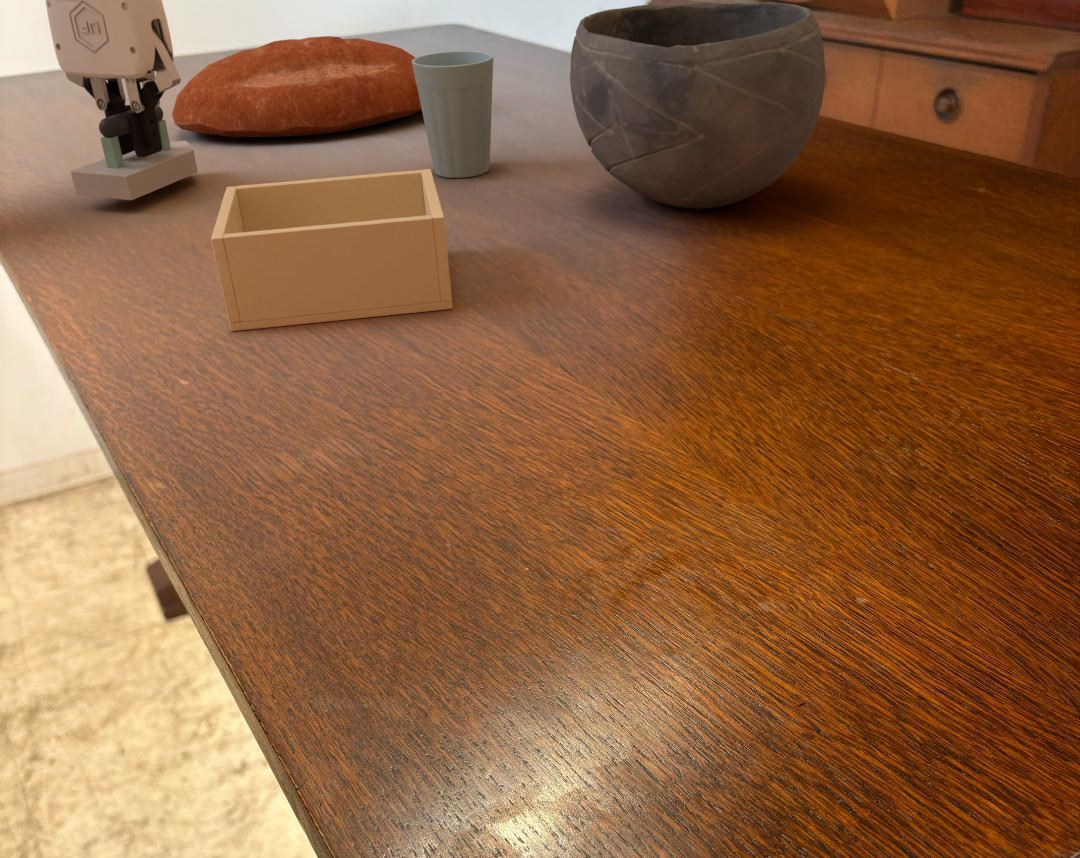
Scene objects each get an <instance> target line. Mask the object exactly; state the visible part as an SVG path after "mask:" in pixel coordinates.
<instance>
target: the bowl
mask: <svg viewBox="0 0 1080 858" xmlns="http://www.w3.org/2000/svg"><path fill="white" fill-rule="evenodd" d="M821 32H822V31H821V28H820V25H819V22H818V19H817V18H816V16H815V14H814V12H813V11H812V10H811V9H810V8H808V7H805V6H801V5H798V4H792V3H783V2H773V1H765V2H731V1H730V2H729V1H698V2H683V3H674V4H673V3H672V4H657V5H656V4H651V5H650V4H641V5H640V4H639V5H633V6H628V7H621V8H620V7H619V8H610V9H606V10H605V9H604V10H601V11H598V12H595V13H591V14H589V15H587V16H584V17H583V18H582V19H580V21H579V23H578V25H577V28H576V31H575V36H574V38H573V42H572V47H571V53H570V55H571V56H570V72H569V86H570V91H571V99H572V105H573V109H574V113H575V116H576V120H577V123H578V126H579V128H580V130H581V133H582V135H583V137H584V140H585V141H586V143H587V145H588V147H590V148H591V154H593V156H594V158H596V160H597V161H598V163H599V164H600V165H601V167H602V168H603V169H604V170H605V171H606V172H608V173H609V175H610V176H611V177H613V178H614V179H616V180H617V181H619V182H620V183H621V184H623V185H625V186H626V187H627V188H628V189H630V190H631V191H633V192H635V193H636V194H638V195H640V196H642V197H644V198H646V199H649V200H652V201H655V202H658V203H662V204H665V205H669V206H673V207H676V208H683V209H688V210H689V209H690V210H691V209H692V210H706V209H716V208H721V207H725V206H729V205H733V204H735V203H737V202H740V201H743V200H745V199H747V198H750V197H752V196H753V195H755V194H756V193H758V192H760V191H762V190H764V189H765V188H768V187H770V186H771V185H772V184H774V183H775V182H776V181H777V180H778V179H780V178H782V177H783V175H784V174H785V173H786V172H787V171H788V169H789V168H790V167H791V166H792V165H793V164H794V162H795V161H796V160H797V158H798V157H799V156H800V155H801V153H802V152H803V151H804V149H805V147H806V146H807V144H808V142H809V140H810V137H811V136H812V133H813V131H814V130H815V127H816V124H817V121H818V119H819V116H820V112H821V109H822V105H823V99H824V92H825V90H824V89H825V82H826V76H825V75H826V62H825V50H824V43H823V36H822V33H821Z"/></svg>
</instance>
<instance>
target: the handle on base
mask: <svg viewBox="0 0 1080 858" xmlns="http://www.w3.org/2000/svg"><path fill="white" fill-rule="evenodd" d="M131 112H133V111H132V110H129V111H126V112H123V113H119V114H116V115H113V116H110V117H107V118H106V117H104V118H103V119H101V120H100V121H99V123H98V130H99V132H100V135H102V136H101V137H100V142H101V147H102V151H103V155H104V158H103V159H100V160H98V161H95V162H92V163H89V164H87V165H84V166H81V167H78V168H76V169H72V170H70V175H71V178H72V179H71V180H72V182H73V186H74V189H75V190H74V191H75V195H77V196H83V197H93V198H94V197H95V198H103V199H104V198H105V199H114V200H124V201H133V200H136V199H138V198H141V197H143V196H146V195H147V194H151V193H153V192H155V191H157V190H160V189H162V188H164V187H167V186H169V185H171V184H173V183H176V182H178V181H181V180H183V179H186V178H188V177H190V176H193V175H195V174H197V173H199V172H198V167H197V160H196V156H195V152H194V149H193V148H192V146H191V145H190V144H189V142H188V141H187V140H177V141H170V136H169V132H168V127H167V126H168V125H167V121H166V120H165V119H163V118H164V111H163V109H162V107H161V106H160V105H159V106H158V107H156V108H155V113H156V117H157V122H158V127H159V132H160V137H161V143H162V150H161V151H160V152H157V153H155V154H152V155H150V156H147V157H144V158H143V157H138V156H137V155H136V153H135V151H133V152H130V153H127V154H125V155H122V153H121V149H120V144H119V140H118V136H121V135H124V134H127V133H130V132H131V130H130V125H129V121H128V113H131Z"/></svg>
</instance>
